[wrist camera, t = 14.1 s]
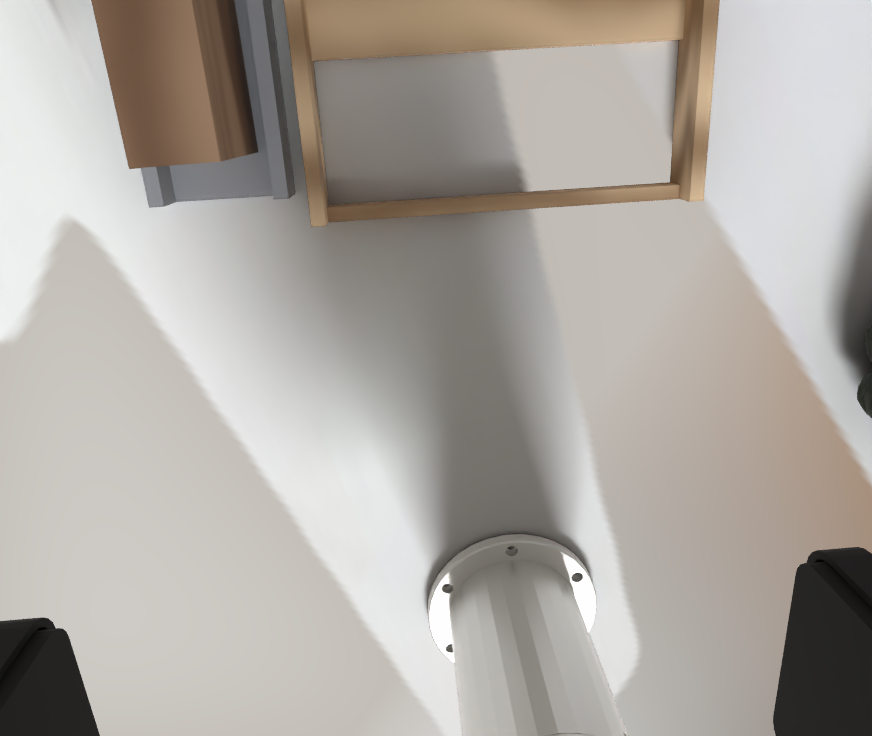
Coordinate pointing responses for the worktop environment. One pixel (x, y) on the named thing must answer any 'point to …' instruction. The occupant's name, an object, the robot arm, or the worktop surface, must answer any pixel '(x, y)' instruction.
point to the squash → (866, 380)
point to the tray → (492, 31)
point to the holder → (273, 159)
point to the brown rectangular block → (177, 80)
